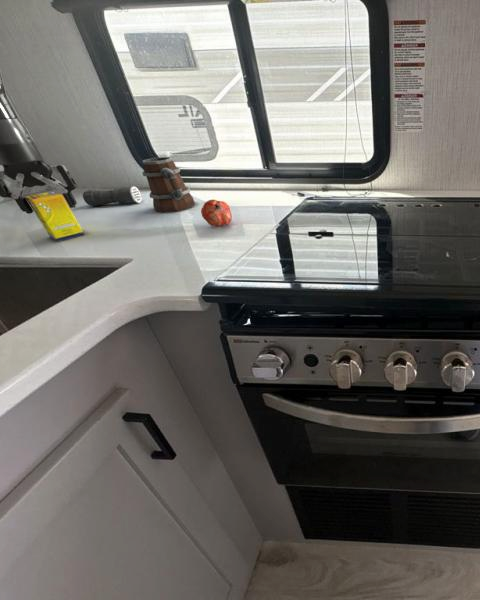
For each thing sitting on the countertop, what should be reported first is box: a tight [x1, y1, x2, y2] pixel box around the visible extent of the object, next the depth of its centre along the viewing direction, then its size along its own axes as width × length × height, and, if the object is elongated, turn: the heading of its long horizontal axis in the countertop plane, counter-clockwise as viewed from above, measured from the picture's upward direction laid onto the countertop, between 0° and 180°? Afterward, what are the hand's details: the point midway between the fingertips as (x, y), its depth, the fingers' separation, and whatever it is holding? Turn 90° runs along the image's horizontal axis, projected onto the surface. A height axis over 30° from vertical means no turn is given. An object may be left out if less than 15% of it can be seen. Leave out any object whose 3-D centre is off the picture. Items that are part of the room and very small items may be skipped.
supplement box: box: [24, 191, 85, 242], centre depth 86 cm, size 6×6×11 cm
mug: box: [141, 156, 196, 213], centre depth 105 cm, size 16×12×15 cm
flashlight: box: [82, 186, 143, 207], centre depth 113 cm, size 15×5×5 cm, turn 102°
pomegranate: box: [200, 199, 233, 227], centre depth 92 cm, size 7×7×10 cm
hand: (52, 210), depth 85 cm, fingers open, 8 cm apart
